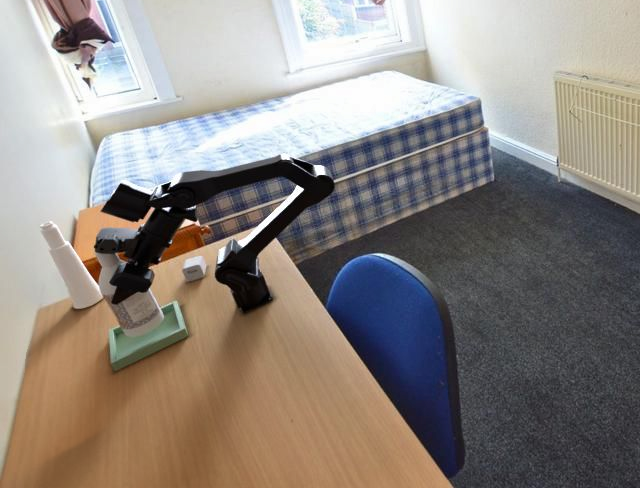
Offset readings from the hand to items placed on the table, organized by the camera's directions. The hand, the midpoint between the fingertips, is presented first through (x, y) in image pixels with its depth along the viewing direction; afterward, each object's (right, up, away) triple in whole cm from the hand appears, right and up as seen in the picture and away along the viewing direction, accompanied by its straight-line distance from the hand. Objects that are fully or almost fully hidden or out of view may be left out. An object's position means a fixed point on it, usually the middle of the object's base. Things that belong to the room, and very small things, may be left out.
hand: (118, 293), depth 95 cm
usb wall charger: (-1, -3, +26) cm, 26 cm away
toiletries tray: (+2, -11, +5) cm, 13 cm away
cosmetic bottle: (-23, -8, +19) cm, 31 cm away
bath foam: (+2, -9, +4) cm, 10 cm away
